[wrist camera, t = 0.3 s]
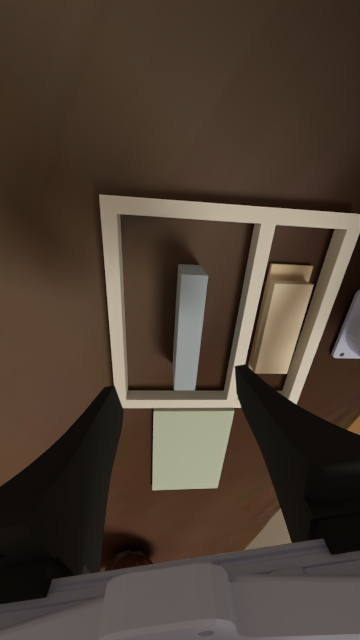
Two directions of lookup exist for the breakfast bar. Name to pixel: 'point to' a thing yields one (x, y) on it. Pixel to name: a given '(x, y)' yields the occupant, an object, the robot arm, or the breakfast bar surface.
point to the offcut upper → (280, 325)
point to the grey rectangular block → (188, 324)
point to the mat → (189, 447)
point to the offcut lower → (280, 274)
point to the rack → (261, 241)
